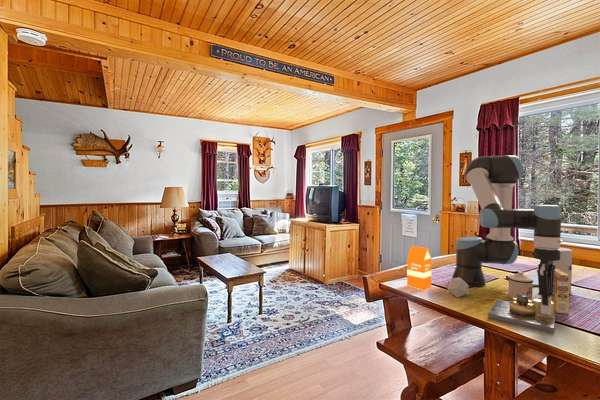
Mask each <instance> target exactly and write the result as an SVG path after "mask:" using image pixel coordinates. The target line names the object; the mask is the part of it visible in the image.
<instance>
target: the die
mask: <svg viewBox="0 0 600 400" xmlns="http://www.w3.org/2000/svg"><path fill="white" fill-rule="evenodd" d="M469 287H470V286H469V285H468V284H467V283H466V282H465V281H464V280H462V279H461V278H459V277H458V278H453V279H452V278H451V279H450V280H449V281H448V284H447V290H448V291H449V292H450V293H451V294H452V295H453V296H455V297H456V298H460V297H463V296H465V295H466V294H468V292H469Z"/></svg>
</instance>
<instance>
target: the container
mask: <svg viewBox="0 0 600 400" xmlns="http://www.w3.org/2000/svg"><path fill="white" fill-rule="evenodd" d="M559 250H560V260H559V261H553V265H555V267H556V268H555V269H557V270H561V271H563V272H565V273H566V274H568V275H569V294H571V293H572V276H573V275H572V274H573V273H572V271H573V265H572V264H573V250H572V249H571V248H567V247H561V246H560V248H559Z"/></svg>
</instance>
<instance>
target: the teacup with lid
mask: <svg viewBox="0 0 600 400" xmlns="http://www.w3.org/2000/svg"><path fill="white" fill-rule="evenodd" d="M507 278H508V297H509V298H510V299H512V298H516V299H517V295H518V294H521V295H526V296H528V297H529V300H530V301H533V291H534V290H533V285H534V284H533V283H534V279H533V278H532V277H530V276H527V275H526V274H524V272H523V271H518V272H517V273H515V274H511V275H508V277H507Z"/></svg>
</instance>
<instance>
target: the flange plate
mask: <svg viewBox="0 0 600 400" xmlns="http://www.w3.org/2000/svg"><path fill="white" fill-rule="evenodd" d="M528 301H529V297H528V296H526V295H521V294H518V295H517V302H519V304H521V305H527V304H528ZM556 313H557V312H556V311H555V310H554V309H553V317H549V316H543V315H536V314H535V315H521V314H517V313H515V312H512V311H511V310H510V300H504V299H499V298H498V299H496V300H495V303H494V304H493V305H492V307H491V308H490V310H489V312H488V315H487V316H488V317H487V318H488V319H490V320H493V321H498V322H503V323H506V324H511V325H515V326H518V327H523V328H528V329H531V330H536V331H541V332H545V333H549V334H554V333H555V324H556V323H555V322H556V317H557V314H556Z"/></svg>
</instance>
